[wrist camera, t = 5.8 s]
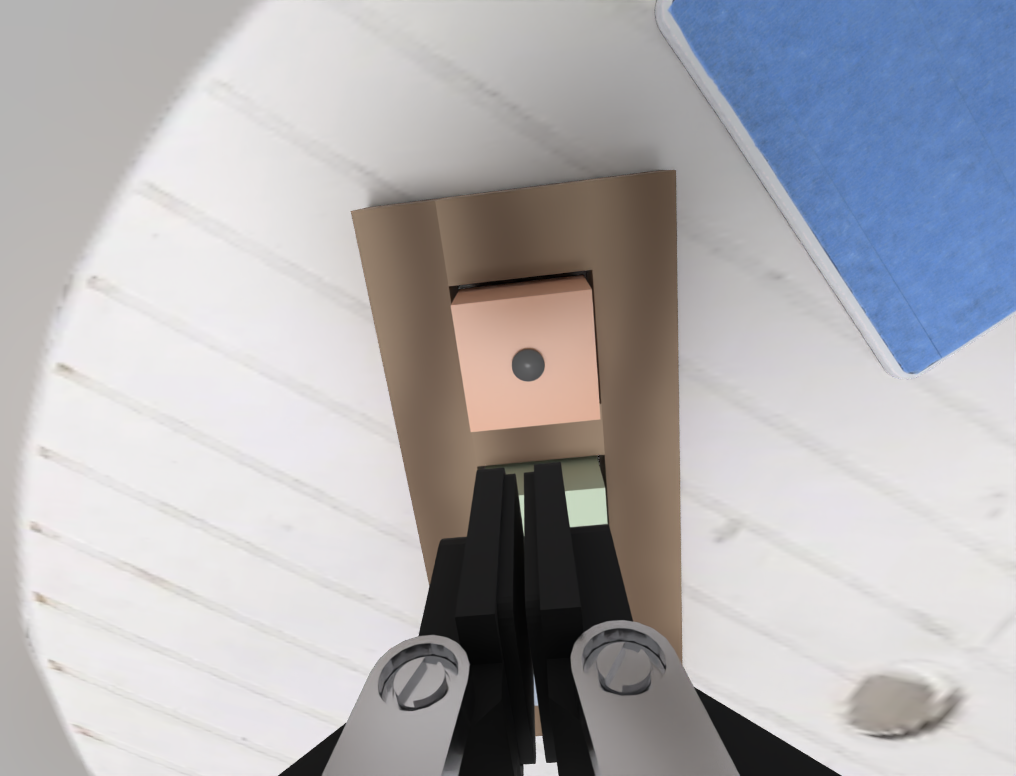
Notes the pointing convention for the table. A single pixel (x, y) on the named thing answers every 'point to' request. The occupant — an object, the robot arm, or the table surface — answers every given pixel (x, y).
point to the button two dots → (571, 488)
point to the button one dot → (527, 353)
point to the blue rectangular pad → (877, 150)
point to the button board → (619, 352)
